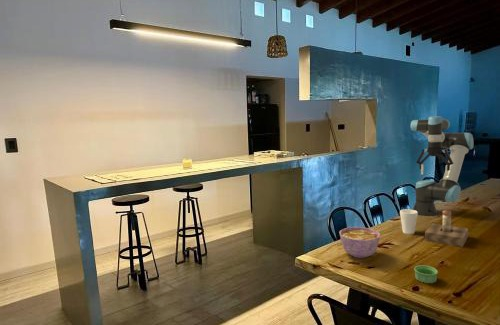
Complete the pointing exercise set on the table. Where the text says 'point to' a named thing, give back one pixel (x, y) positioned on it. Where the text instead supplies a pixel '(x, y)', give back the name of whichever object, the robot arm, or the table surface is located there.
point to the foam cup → (408, 220)
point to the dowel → (446, 221)
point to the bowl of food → (359, 241)
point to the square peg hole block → (446, 235)
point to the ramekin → (425, 274)
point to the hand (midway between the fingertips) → (434, 175)
